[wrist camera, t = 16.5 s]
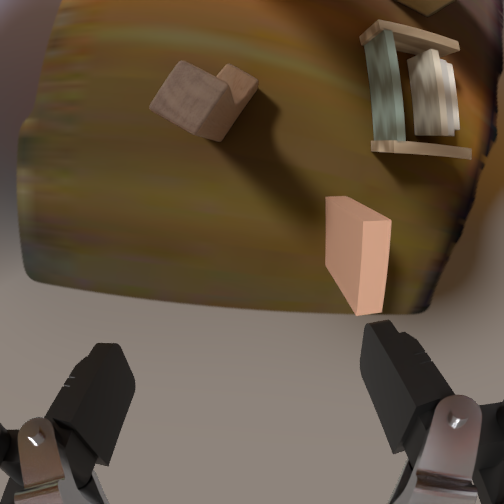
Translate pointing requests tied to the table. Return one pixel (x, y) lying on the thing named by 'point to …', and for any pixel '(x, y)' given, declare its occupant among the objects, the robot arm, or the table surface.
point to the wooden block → (204, 99)
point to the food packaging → (426, 5)
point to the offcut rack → (422, 89)
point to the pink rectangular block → (357, 252)
